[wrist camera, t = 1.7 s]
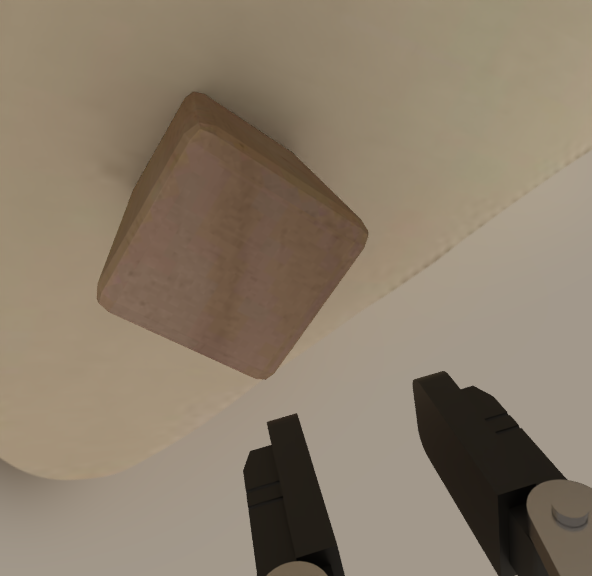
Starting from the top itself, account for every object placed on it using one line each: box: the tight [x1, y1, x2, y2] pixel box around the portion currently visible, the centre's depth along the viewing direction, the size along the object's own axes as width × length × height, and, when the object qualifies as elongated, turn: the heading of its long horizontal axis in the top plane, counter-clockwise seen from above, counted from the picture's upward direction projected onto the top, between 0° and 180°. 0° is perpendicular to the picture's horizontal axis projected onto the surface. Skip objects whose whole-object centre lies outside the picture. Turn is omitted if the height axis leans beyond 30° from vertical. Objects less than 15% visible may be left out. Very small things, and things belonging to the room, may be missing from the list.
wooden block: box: [97, 92, 368, 380], centre depth 33 cm, size 10×10×20 cm
